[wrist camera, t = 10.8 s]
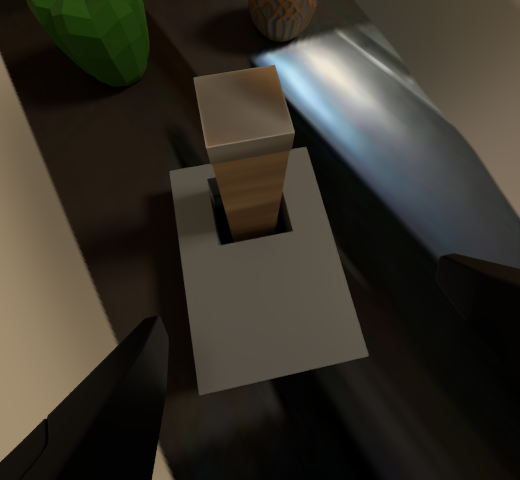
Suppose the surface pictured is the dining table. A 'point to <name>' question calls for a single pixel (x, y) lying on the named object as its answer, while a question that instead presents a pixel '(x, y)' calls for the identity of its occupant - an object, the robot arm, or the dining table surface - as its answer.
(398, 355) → the dining table surface
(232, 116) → the wooden square peg
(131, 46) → the bell pepper
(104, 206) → the dining table surface
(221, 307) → the block with square hole
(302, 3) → the vase
